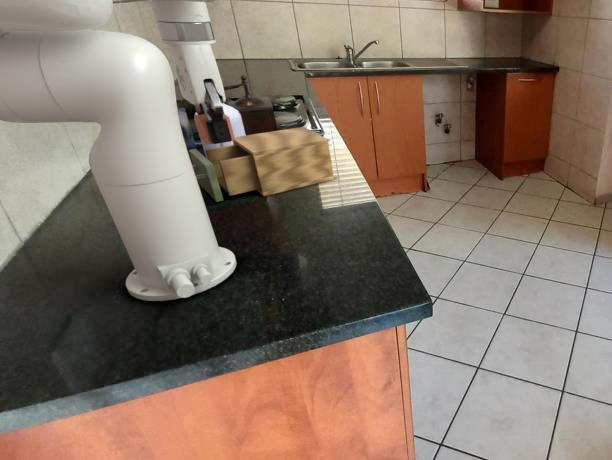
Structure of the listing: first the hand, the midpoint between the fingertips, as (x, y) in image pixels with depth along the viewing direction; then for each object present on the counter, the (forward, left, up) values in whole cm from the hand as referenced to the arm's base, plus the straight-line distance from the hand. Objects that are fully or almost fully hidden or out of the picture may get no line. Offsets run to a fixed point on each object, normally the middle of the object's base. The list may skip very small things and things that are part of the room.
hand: (217, 137), depth 80 cm
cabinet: (0, -11, -11) cm, 16 cm away
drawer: (0, 0, -10) cm, 10 cm away
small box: (+33, +4, -11) cm, 35 cm away
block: (0, 0, 0) cm, 0 cm away
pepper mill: (+35, -14, -11) cm, 39 cm away
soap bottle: (+23, -6, -11) cm, 26 cm away
